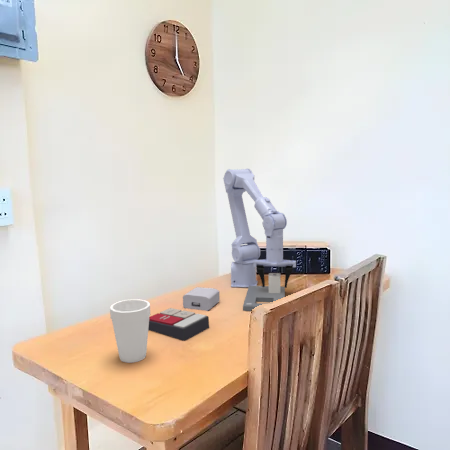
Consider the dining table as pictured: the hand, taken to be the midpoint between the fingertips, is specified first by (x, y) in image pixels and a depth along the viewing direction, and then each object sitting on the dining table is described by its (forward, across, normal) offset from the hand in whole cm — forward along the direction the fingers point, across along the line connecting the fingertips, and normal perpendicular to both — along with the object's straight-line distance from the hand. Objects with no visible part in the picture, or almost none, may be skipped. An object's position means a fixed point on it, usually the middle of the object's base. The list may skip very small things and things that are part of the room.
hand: (274, 286), depth 145 cm
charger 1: (+4, -23, -9) cm, 25 cm away
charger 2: (+2, 0, 0) cm, 2 cm away
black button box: (+4, -27, -32) cm, 42 cm away
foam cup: (+3, -33, -50) cm, 60 cm away
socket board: (+3, -3, -5) cm, 7 cm away
